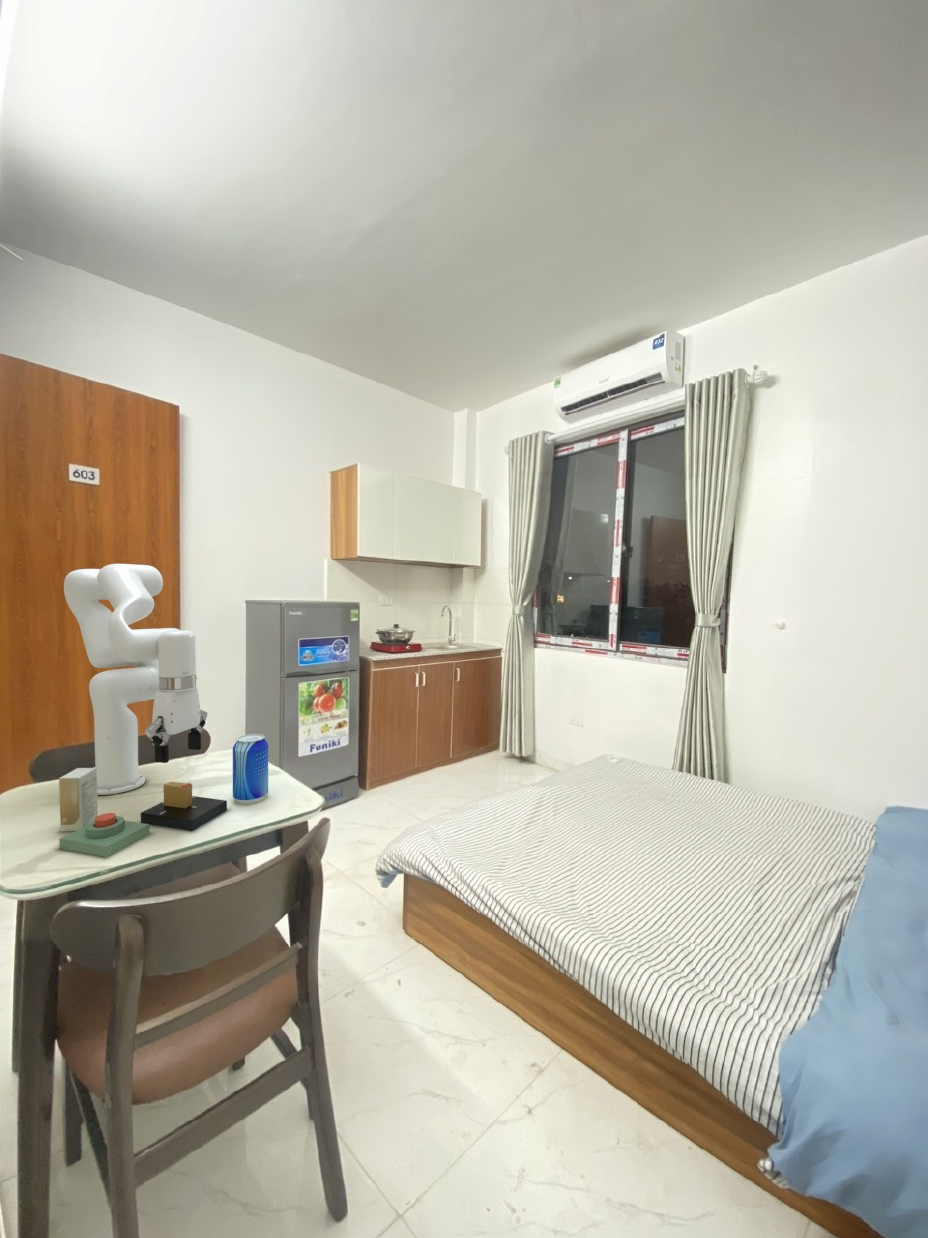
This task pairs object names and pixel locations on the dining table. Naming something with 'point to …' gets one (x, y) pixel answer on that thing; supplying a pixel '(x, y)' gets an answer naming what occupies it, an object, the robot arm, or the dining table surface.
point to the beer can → (250, 769)
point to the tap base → (184, 814)
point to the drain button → (105, 820)
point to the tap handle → (178, 794)
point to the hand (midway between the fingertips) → (178, 755)
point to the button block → (104, 837)
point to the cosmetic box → (78, 798)
